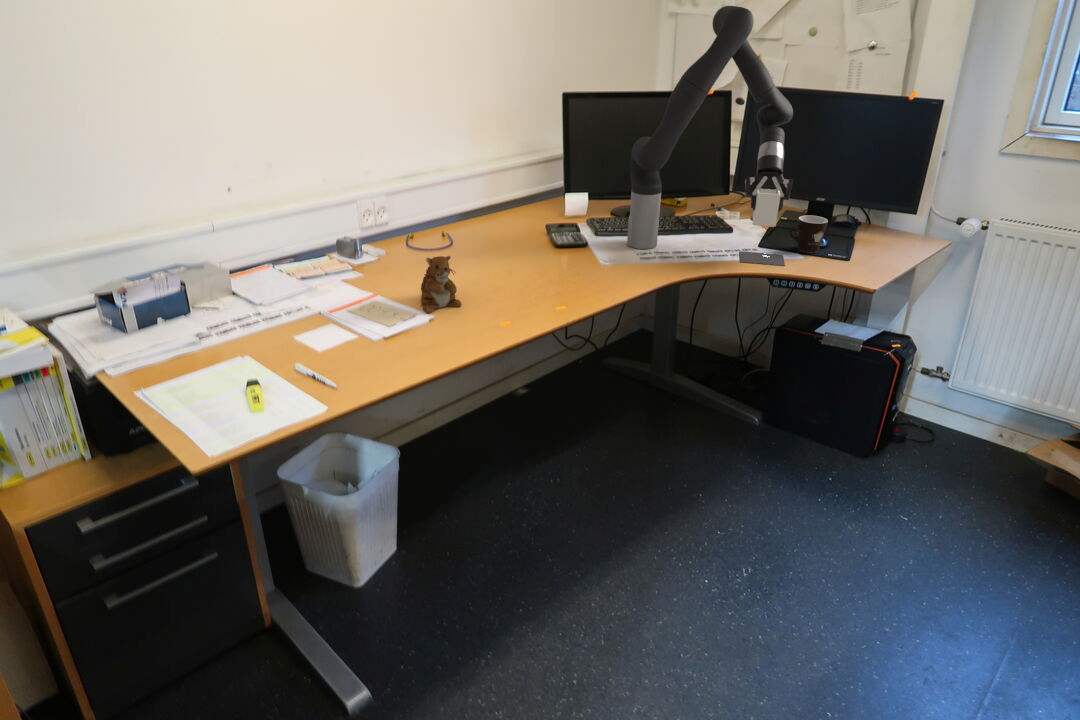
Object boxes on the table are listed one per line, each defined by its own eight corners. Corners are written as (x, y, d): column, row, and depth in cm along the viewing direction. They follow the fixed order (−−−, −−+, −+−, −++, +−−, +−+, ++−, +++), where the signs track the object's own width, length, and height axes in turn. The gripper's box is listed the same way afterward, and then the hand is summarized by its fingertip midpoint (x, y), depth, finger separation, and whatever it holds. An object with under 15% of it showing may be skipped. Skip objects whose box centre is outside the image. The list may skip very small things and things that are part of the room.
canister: (753, 224, 220) (757, 193, 216) (752, 218, 226) (757, 187, 222) (775, 226, 219) (780, 194, 215) (774, 220, 225) (779, 189, 220)
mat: (740, 262, 224) (740, 261, 224) (739, 251, 233) (739, 251, 233) (784, 266, 222) (785, 265, 222) (782, 255, 231) (783, 254, 230)
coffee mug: (818, 246, 239) (824, 216, 234) (824, 255, 231) (831, 223, 227) (781, 244, 240) (786, 214, 235) (786, 253, 232) (791, 222, 228)
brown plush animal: (427, 315, 187) (423, 265, 181) (411, 295, 198) (408, 248, 192) (464, 309, 190) (462, 260, 184) (447, 290, 202) (445, 243, 196)
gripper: (747, 152, 222) (742, 201, 217) (797, 155, 219) (793, 205, 214) (744, 166, 229) (740, 214, 224) (793, 169, 226) (789, 217, 221)
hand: (766, 209), depth 219 cm, fingers closed on canister, 6 cm apart
